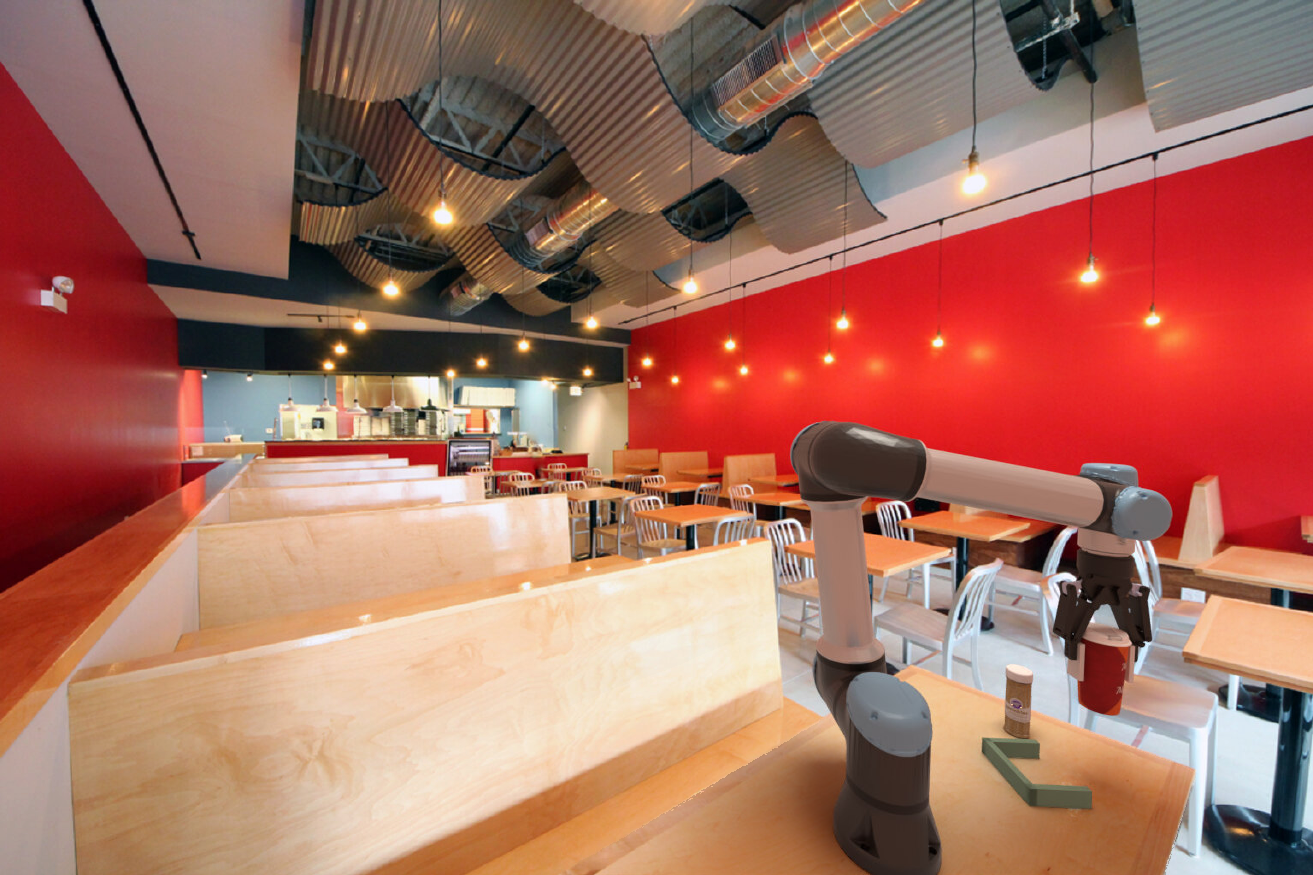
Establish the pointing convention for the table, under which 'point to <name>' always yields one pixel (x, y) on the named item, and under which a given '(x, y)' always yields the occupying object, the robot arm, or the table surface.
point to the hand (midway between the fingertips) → (1099, 677)
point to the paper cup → (1103, 668)
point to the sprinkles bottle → (1018, 700)
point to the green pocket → (1031, 793)
